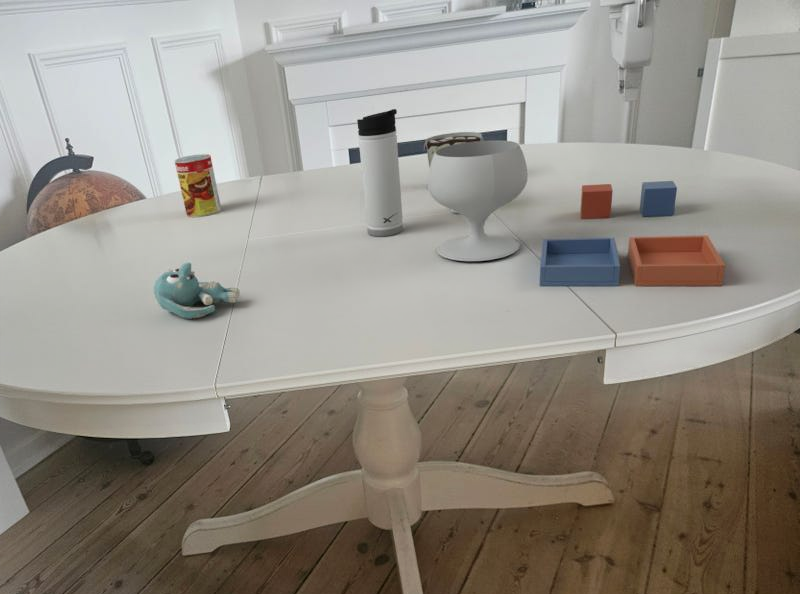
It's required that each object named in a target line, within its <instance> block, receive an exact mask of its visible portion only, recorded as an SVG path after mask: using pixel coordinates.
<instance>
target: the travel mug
mask: <svg viewBox="0 0 800 594" xmlns="http://www.w3.org/2000/svg"><path fill="white" fill-rule="evenodd" d="M397 114H398V110H397V109H396V108H392V109H390V110H387V111H383V112H378V113H377V112H376V113H373V114H370V115H366V116H363V117H362V118H361V119H357V129H358V130H357V133H358V135H357V136H358V144H359V145H358V147H359V148H358V149H359V154H360V155H359V157H360V167H361V177H362V186H363V189H362V190H363V199H364V208H365V209H364V210H365V219H366V230H367V234H368V235H370V236H372V237H378V238H379V237H381V238H383V237H391V236H395V235H398V234H400V233H401V232H403V230H404V221H403V206H402V192H401V179H400V178H401V177H400V162H399V149H398V136H397V127H396V115H397Z"/></svg>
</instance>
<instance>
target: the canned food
mask: <svg viewBox="0 0 800 594" xmlns="http://www.w3.org/2000/svg"><path fill="white" fill-rule="evenodd" d="M174 165H175V169H176V174H177V178H178V182H179V187H180V191H181V195H182V200H183V204H184V208H185V209H184V210H185V213H186V216H187V217H189V218H201V217H206V216H212V215H215V214H218V213H219V212H221V211H222V205H221V202H220V196H219V191H218V190H219V189H218V186H217V180H216V176H215V171H214V166H213V161H212V157H211V154H209V153H201V154H199V153H198V154H192V155H187V156H183V157H179V158H176V159H175V160H174Z"/></svg>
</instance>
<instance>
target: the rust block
mask: <svg viewBox="0 0 800 594" xmlns="http://www.w3.org/2000/svg"><path fill="white" fill-rule="evenodd" d="M613 192H614V191H613V186H612V184H611V183H603V184H600V183H599V184H583V185H581V197H580V219H581V220H584V219H586V220H587V219H609V218H608V217H610V218H611V215H612V203H613Z"/></svg>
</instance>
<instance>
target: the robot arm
mask: <svg viewBox="0 0 800 594" xmlns="http://www.w3.org/2000/svg"><path fill="white" fill-rule="evenodd" d="M599 7H600V8H606V7H609V8H608V13H609V14H608V20H609V23H610V24H609V26H610V48H611V56H612V58H613V59H614V60H615V62H616V63H617V64H618V65H617V72H618V74H617V75H618V86H617V91H618V93H619V94H623V96H622V97H623V100H624V102H626V103H630V102H636V101H637V100H638V99H639V94H640V85H641V82H642V78H643V70H644V68H645V67H649V66H650V65H651V64H652V63H653V58H654V50H655V37H656V19H657V14H658V13H659V12H660V9H661V0H599Z"/></svg>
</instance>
